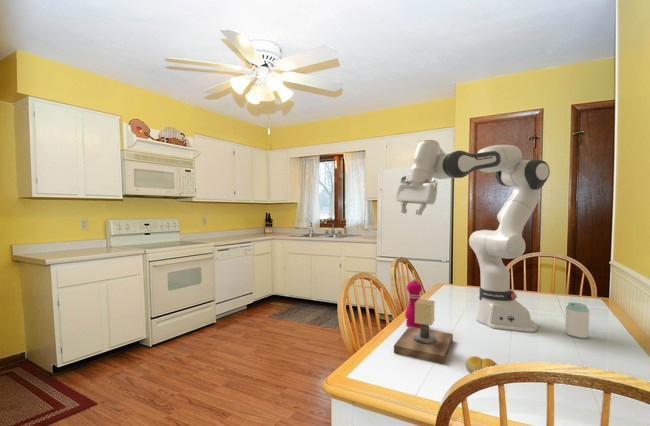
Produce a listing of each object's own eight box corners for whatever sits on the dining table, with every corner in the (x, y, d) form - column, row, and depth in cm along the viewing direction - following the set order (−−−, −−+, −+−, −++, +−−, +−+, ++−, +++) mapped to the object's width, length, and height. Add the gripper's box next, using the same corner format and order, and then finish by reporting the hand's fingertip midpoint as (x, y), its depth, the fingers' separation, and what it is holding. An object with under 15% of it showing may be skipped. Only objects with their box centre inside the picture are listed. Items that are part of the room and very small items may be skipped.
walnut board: (452, 340, 119) (452, 314, 119) (443, 363, 102) (443, 333, 102) (409, 332, 127) (409, 307, 127) (393, 352, 110) (394, 324, 109)
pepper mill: (424, 329, 130) (424, 280, 129) (405, 328, 131) (405, 279, 131) (422, 323, 137) (422, 276, 136) (404, 322, 138) (404, 275, 138)
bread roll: (468, 362, 103) (468, 350, 103) (500, 370, 98) (500, 357, 98) (463, 373, 96) (463, 360, 96) (497, 382, 91) (497, 368, 91)
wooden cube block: (434, 320, 115) (434, 301, 115) (431, 325, 110) (431, 305, 110) (418, 318, 118) (418, 298, 118) (414, 322, 113) (414, 302, 113)
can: (568, 337, 122) (569, 306, 122) (562, 331, 129) (563, 300, 128) (591, 340, 119) (592, 308, 119) (584, 333, 126) (585, 302, 126)
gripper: (444, 181, 119) (435, 218, 119) (409, 182, 138) (401, 214, 137) (431, 176, 117) (422, 213, 116) (397, 178, 135) (389, 210, 135)
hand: (410, 214), depth 127 cm, fingers open, 8 cm apart
